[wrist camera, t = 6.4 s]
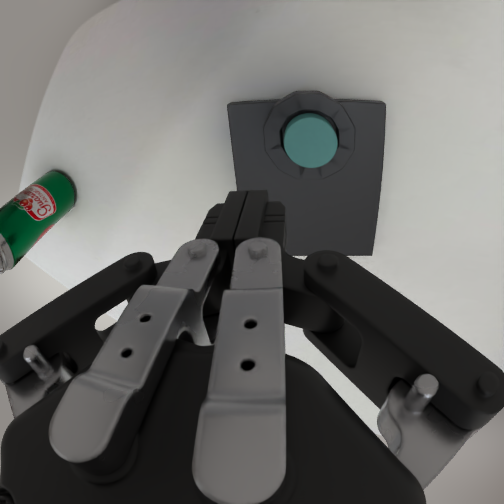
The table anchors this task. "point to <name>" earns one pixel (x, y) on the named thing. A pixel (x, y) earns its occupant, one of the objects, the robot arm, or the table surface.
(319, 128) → the button
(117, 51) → the table surface
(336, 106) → the dark grey flat block
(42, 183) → the soda can
